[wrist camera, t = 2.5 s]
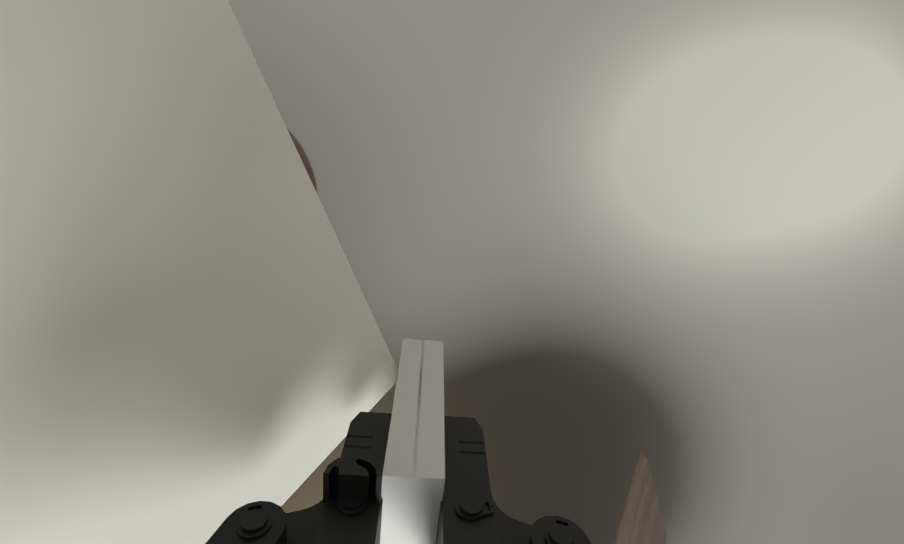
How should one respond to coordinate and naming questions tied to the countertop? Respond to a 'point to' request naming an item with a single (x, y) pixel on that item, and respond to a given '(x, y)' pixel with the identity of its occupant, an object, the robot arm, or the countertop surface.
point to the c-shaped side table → (161, 280)
